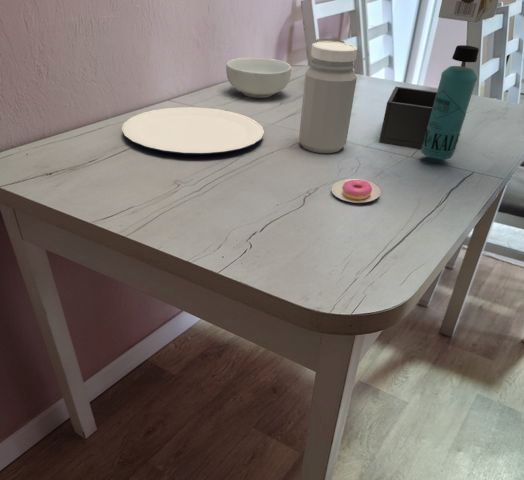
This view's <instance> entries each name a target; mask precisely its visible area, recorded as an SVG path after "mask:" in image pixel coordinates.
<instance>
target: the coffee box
mask: <svg viewBox="0 0 524 480" xmlns="http://www.w3.org/2000/svg"><path fill="white" fill-rule="evenodd" d="M498 3H499V0H441V4H440V8H439V12H438V18H439V19H448V20H454V21H461V22H469V23H478V22H482V21H484V20H489V19H491V18H494V17H495V13H496V10H497V6H498Z"/></svg>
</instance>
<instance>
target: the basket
mask: <svg viewBox="0 0 524 480" xmlns="http://www.w3.org/2000/svg"><path fill="white" fill-rule="evenodd" d="M436 94H437V91H432V90H425V89H418V88H412V87H411V88H409V87H402V86H394V89H393V90H392V92H391V94H390V96H389V97H388V100H387V102H386V106H385V110H384V115H383V120H382V125H381V131H380V135H379V139H378V142H379V143H382V144H389V145H395V146H402V147H408V148H413V149H420V150H421V148H422V146H421V145H423V144H422V142H423V140H424V139H423V138H424V137H425V135H424V134H426V131H425V130H427V126H428V123H429V122H428V121H429V119H430V117H429V116H430V114H431V111H432V108H433V104H434V102H433V101H434V99H435V97H436V96H435V95H436Z"/></svg>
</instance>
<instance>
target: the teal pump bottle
mask: <svg viewBox="0 0 524 480" xmlns="http://www.w3.org/2000/svg"><path fill="white" fill-rule="evenodd" d="M479 51H480V48H479V47H476V46H474V45H473V46H472V45H465V44H463V45H462V44H461V45H460V44H458V45H456V47H455V49H454V52H453V55H452V57H451V59H452V60H454V61H457V62H460V63H461V62H462V63H476V62H477V61H478V55H479ZM477 80H478V77H477V74H476V72H475V70H474V69H472V68H471V67H466V66H462V65H460V66H459V65H450V66H448V67H447V68H445V69H444V70H443V71H442V72H441V75H440V80H439V84H438V86H437V91H436V92H437V94H436V95H435V96H436V97H435V99H434V101H433V102H434V104H433V108H432V111H431V114H430V116H429V117H430V119H429V121H428V122H429V123H428V126H427V130H425V131H426V134H424V135H425V137H424V138H423V139H424V140H423V142H422V144H423V145H421V146H422V148H421V149H420V151H421V154H422V155H423V156H426V157H428V158H431V159H435V160H449V159H451V158H452V157H453V155H454V154H455V152H456V148H457V144H458V142H459V137H460V136H461V132H462V129H463V125H464V122H465V119H466V117H467V115H466V114H467V111H468V108H469V105H470V102H471V98H472V95H473V93H474V88H475V85H476V82H477Z"/></svg>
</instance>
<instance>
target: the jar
mask: <svg viewBox="0 0 524 480" xmlns="http://www.w3.org/2000/svg"><path fill="white" fill-rule="evenodd" d="M357 55H358V48H357V47H356V46H355V45H354V44H351V43H346V42H345V43H340V42H328V41H325V42H316V41H315V42H313V43H312V44H311V52H310V56H311V57H312V60H310V61H309V63H310V66H309V67H308V69H307V70H306V71H305V74H304V83H303V94H302V103H301V115H300V124H299V135H298V140H299V142H300V144H301V146H302V148H303V149H305V150H307V151H309V152H313V153H318V154H334V153H338V152H340V150H342V149H343V148H344V147H345V146H346V145H347V139H348V135H349V128H350V121H351V117H352V110H353V103H354V99H355V90H356V84H357V79H358V77H357V75H356V73H355V71H354V69H355V68H356V65H355V64H354V61H356V60H357Z"/></svg>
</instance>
